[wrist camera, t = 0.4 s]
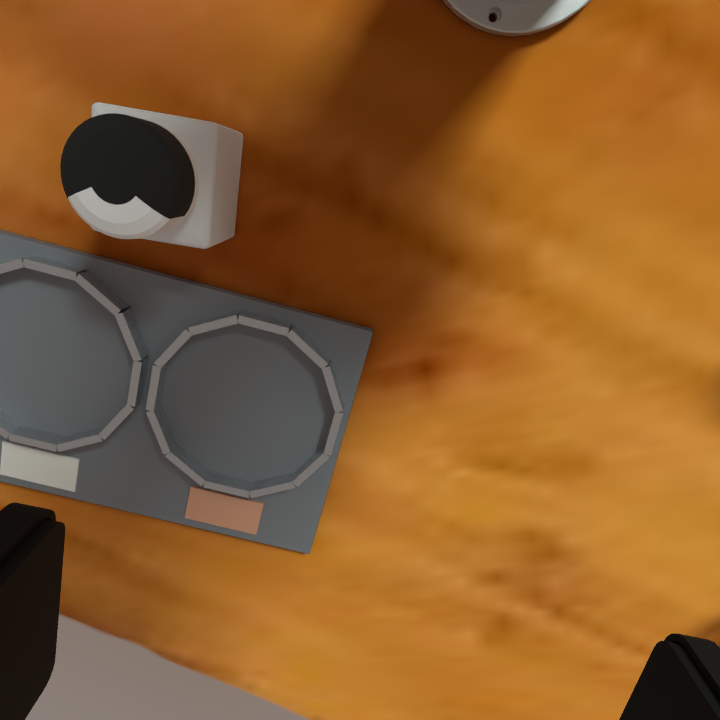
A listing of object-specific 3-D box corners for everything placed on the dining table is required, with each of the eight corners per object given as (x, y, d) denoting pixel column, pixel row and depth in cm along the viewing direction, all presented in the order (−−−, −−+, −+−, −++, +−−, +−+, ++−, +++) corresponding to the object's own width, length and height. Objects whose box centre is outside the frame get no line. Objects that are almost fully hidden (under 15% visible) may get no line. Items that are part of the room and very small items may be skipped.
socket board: (-39, 219, 40) (-51, 220, 39) (373, 328, 42) (373, 332, 41) (-50, 461, 46) (-61, 468, 45) (310, 546, 48) (309, 555, 47)
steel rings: (-40, 235, 39) (-56, 237, 38) (362, 341, 41) (361, 347, 40) (-49, 415, 44) (-63, 423, 42) (316, 503, 46) (314, 514, 44)
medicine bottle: (139, 114, 38) (39, 86, 26) (245, 132, 38) (191, 112, 27) (135, 221, 40) (42, 239, 28) (235, 238, 40) (182, 262, 29)
